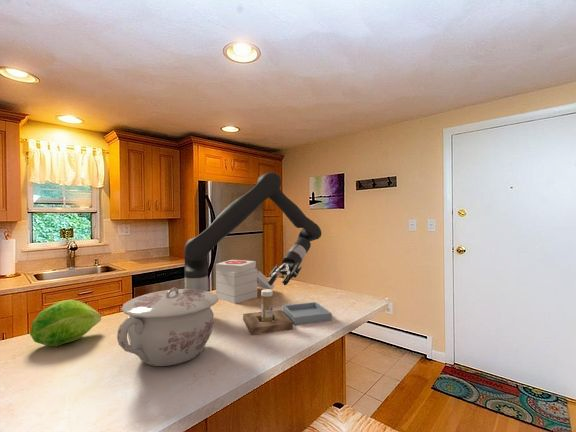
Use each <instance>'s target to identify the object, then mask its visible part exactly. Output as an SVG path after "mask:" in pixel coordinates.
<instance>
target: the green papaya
mask: <svg viewBox="0 0 576 432" xmlns="http://www.w3.org/2000/svg"><path fill="white" fill-rule="evenodd" d="M101 321H102V315H101V314H100V312H98V311H97V310H95V308H94V307H92V306H90V305H89V304H87V303H85V302H82V301H80V300H76V299H75V300H74V299H65V300H61V301H57V302H54V303H53V304H51V305H50V306H48V307H46V308H45V309H43V310H41V311H40V312H39V313H38V314H37V316H36V317H35V318H34V319H33V321H32V323H31V327H30V333H29V335H30V337H31V338H32V340H33V342H34V343H37V344H41V345H42V346H43V345H44V346H49V347H58V346H61V345H65V344H68V343H70V342H74V341H77V340H79V339H80V338H82V337H84V336H85V335H86V334H87V333H88V332H89V331H90V330H91V329H92V328H94V327H95V326H96V325H98V324H99V323H100V322H101Z"/></svg>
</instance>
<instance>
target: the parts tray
mask: <svg viewBox="0 0 576 432" xmlns="http://www.w3.org/2000/svg"><path fill="white" fill-rule="evenodd" d="M281 306H282V309H281V311H282V312H283V313H284V314H285V315H286V316H287V317H288V318H289V319H290V320H291V321H292V322H293V326H298V325H306V324H315V323H322V322H330V321H332V318H333V313H332V312H331V311H329V310H328V309H327V308H325V307H324V306H322V305H321V304H320V303H318V302H317V301H313V302H301V303H291V304H282V305H281Z"/></svg>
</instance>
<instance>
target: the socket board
mask: <svg viewBox="0 0 576 432" xmlns="http://www.w3.org/2000/svg"><path fill="white" fill-rule="evenodd" d="M242 315H243V316H242V320H243V322H244V324H245V327H246V328H247V330H248V332H249V334H250V336H255V335H262V334H270V333H278V332H279V333H280V332H286V331H293V330H294V324H293V322H292V321H291V320H290V319H289V318H288V317H287V316H286V315H285V314H284V313H283V312H282V309H275V310H274V309H273V321H269V322H262V316H261V311H257V312H256V311H255V312H249V313H248V312H247V313H246V312H245V313H242Z"/></svg>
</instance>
